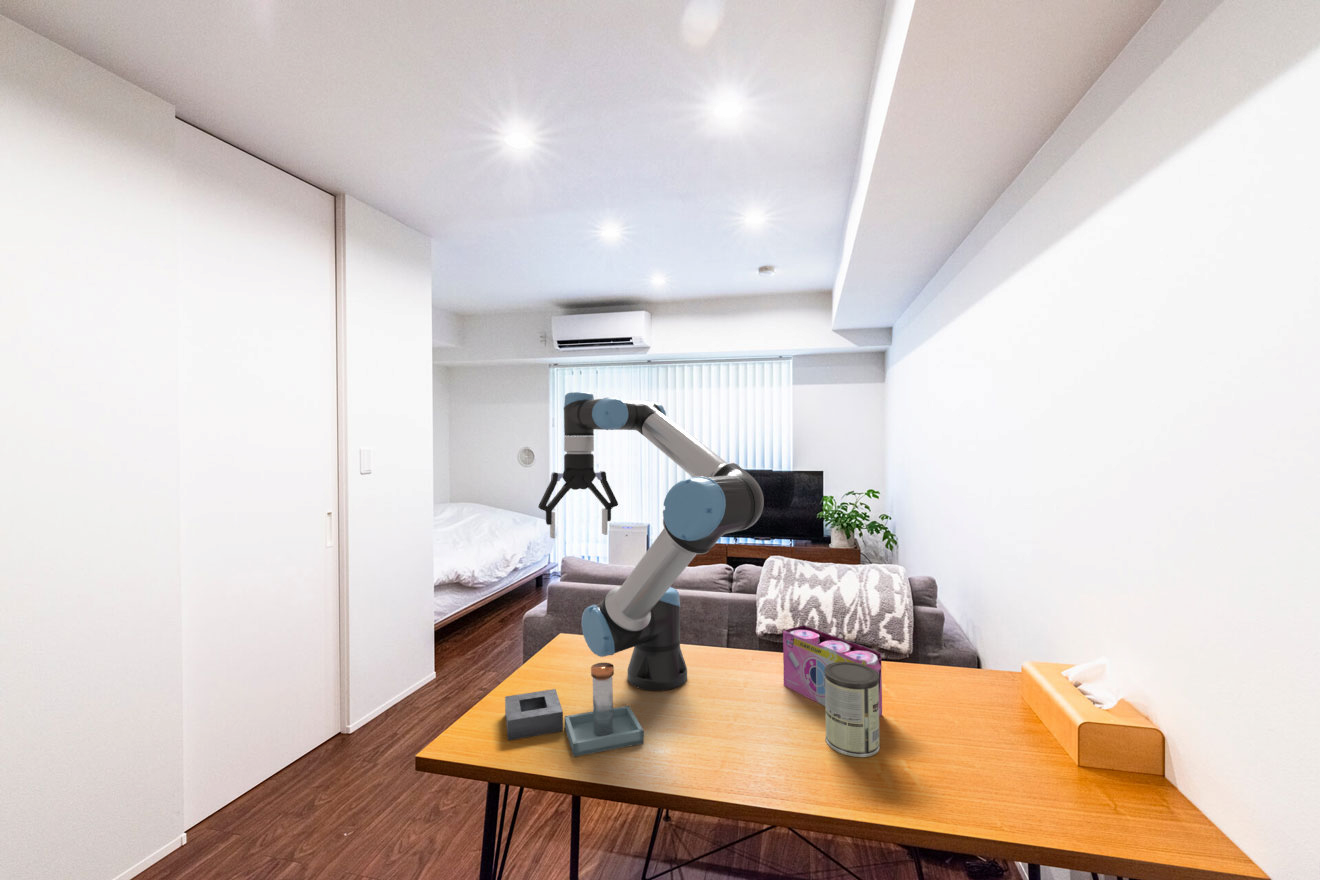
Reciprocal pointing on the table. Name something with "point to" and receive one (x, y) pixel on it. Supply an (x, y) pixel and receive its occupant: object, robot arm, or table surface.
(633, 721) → the tray
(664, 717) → the table surface
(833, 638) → the gum box
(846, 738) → the coffee can
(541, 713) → the block
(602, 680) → the pin
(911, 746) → the table surface
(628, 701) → the table surface
